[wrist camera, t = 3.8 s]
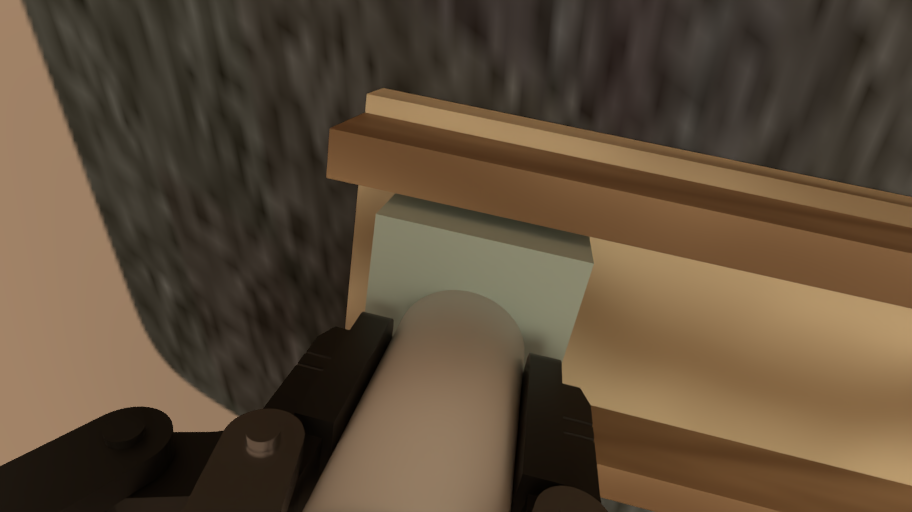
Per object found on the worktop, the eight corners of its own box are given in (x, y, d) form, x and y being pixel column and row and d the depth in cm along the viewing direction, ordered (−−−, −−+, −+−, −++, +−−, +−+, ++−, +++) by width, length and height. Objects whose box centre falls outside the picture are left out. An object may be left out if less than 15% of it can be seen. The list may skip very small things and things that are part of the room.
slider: (408, 178, 14) (223, 374, 6) (586, 218, 14) (632, 482, 6) (385, 351, 17) (231, 649, 9) (534, 389, 16) (516, 738, 8)
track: (383, 88, 15) (322, 109, 11) (1188, 254, 13) (1463, 351, 9) (354, 357, 20) (303, 443, 15) (961, 511, 18) (1083, 654, 14)
